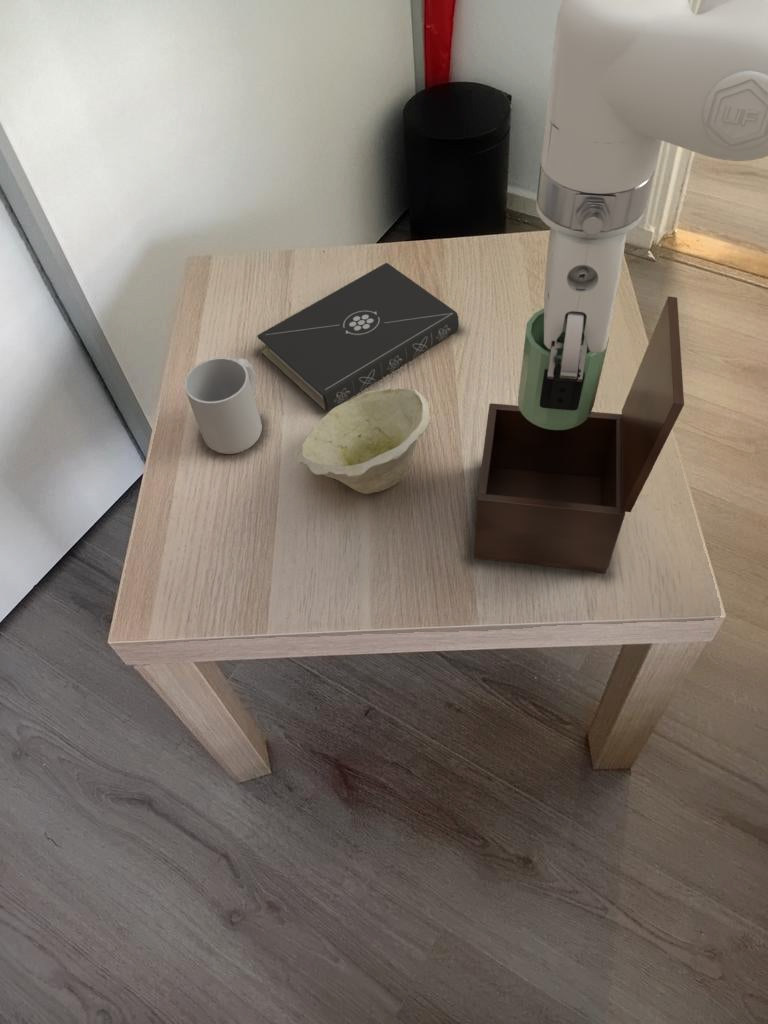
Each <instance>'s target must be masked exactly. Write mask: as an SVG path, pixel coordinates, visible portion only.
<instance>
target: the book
mask: <svg viewBox="0 0 768 1024" xmlns="http://www.w3.org/2000/svg"><path fill="white" fill-rule="evenodd" d="M459 326H460V321H459V315H458V312H457V311H456V310H454V309H453V308H451V307H450V306H448V305H447V304H446V303H444V302H443V301H441V300H440V299H439V298H437V297H436V296H434V295H433V294H431V293H430V292H429V291H427V290H426V289H425V288H423V287H422V286H420V285H419V284H418V283H416V282H415V281H414V280H412V279H410V278H409V277H408V276H407V275H406V274H404V273H402V272H401V271H399V270H398V269H397V268H395V267H394V266H392V265H391V264H390V263H388V262H385V263H383V264H381V265H380V266H378V267H376V268H374V269H372V270H371V271H368V272H367V273H366V274H364V275H362V276H360V277H358V278H357V279H355V280H353V281H351V282H349V283H347V284H346V285H344V286H342V287H340V288H339V289H337V290H335V291H333V292H331V293H329V294H327V295H326V296H325V297H323V298H321V299H319V300H318V301H316V302H314V303H312V304H310V305H308V306H307V307H305V308H303V309H301V310H300V311H297V312H296V313H294V314H293V315H290V316H289V317H287V318H285V319H284V320H282V321H280V322H278V323H276V324H275V325H272V327H270V328H269V327H268V328H267V329H266V330H264V331H262V332H261V333H258V334H257V335H256V336H257V338H258V340H260V342H262V343H263V344H264V345H265V346H266V348H264V349H262V350H261V351H260V353H261V354H262V355H263V356H264V357H265V358H266V359H267V360H268V361H269V362H271V364H273V365H274V366H275V367H276V368H277V369H278V370H279V371H280V372H281V373H282V374H284V375H285V376H286V377H287V378H288V379H289V380H290V381H291V382H292V383H293V384H294V385H295V386H297V387H298V388H299V389H300V390H301V391H302V392H303V393H304V394H305V395H307V397H308V398H310V399H311V400H312V401H313V402H314V403H315V404H316V405H317V406H318V407H320V408H321V409H322V410H323V411H324V412H326V413H329V411H331V410H332V409H333V408H335V407H336V406H338V405H340V404H342V403H345V402H347V401H349V400H351V399H352V398H354V396H355V397H356V395H358V394H359V393H361V392H363V391H364V390H366V389H368V388H369V387H371V386H373V385H374V384H375V383H377V382H378V381H380V380H382V379H384V378H385V377H387V376H389V374H391V373H393V372H395V371H396V370H398V369H399V368H401V367H402V366H404V365H406V364H407V363H409V362H410V361H412V360H414V359H415V358H417V357H418V356H420V355H422V354H424V353H425V352H427V351H428V350H430V349H431V348H433V347H435V346H436V345H437V344H439V343H441V342H442V341H444V340H446V339H447V338H450V336H452V335H454V334H455V333H457V332H458V330H459Z"/></svg>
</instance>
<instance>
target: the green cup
mask: <svg viewBox="0 0 768 1024" xmlns="http://www.w3.org/2000/svg"><path fill="white" fill-rule="evenodd" d="M564 335H565V332H562V333H561V335H560V336H559V337H558V338H561V339H564ZM581 340H583V334H582V339H581ZM609 341H610V335H609V336H608V342H607V348H606V349H605V350H604V351H603V352H602V353H591V352H590V350H589V348H587V353H586V359H585V366H584V372H585V378H584V382H583V387H582V392H581V397H580V402H579V406H578V409H577V410H574V411H572V410H561V409H549V408H542V407H540V397H541V390H542V383H543V377H544V370H545V369H548V365H549V358H550V350H551V349H548V348H547V347H546V346H545V344H544V307H543V308H542V309H540V310H538V311H536V312H534V313H533V314H532V316H531V317H530V318H529V319H528V320H527V322H526V326H525V335H524V343H523V344H524V345H523V353H522V360H521V369H520V378H519V385H518V386H519V387H518V396H517V404H518V405H517V406H519V409H520V411H521V413H522V414H523V416H524V417H525V418H526V419H527V420H528V421H530V422H531V423H533V424H534V425H537V426H539V427H542V428H545V429H550V430H566V429H570V428H574V427H576V426H578V425H580V424H582V423H583V422H584V421H585V420H586V419H587V418H588V417H589V416H590V414H591V412H593V409H594V406H595V402H596V398H597V394H598V389H599V388H598V387H599V386H600V385H599V384H600V380H601V377H602V371H603V367H604V363H605V358H606V355H607V354H606V353H607V351H608V345H609ZM562 352H563V350H559V349H558V351H557V359H556V364H561V360H562Z"/></svg>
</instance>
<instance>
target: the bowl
mask: <svg viewBox="0 0 768 1024" xmlns="http://www.w3.org/2000/svg"><path fill="white" fill-rule="evenodd" d="M431 421H432V418H431V410H430V403H429V401H428V400H427V399H426V398H425V397H424V396H423V395H422V394H421V393H420V392H419V391H417V390H416V389H414V388H409V387H402V388H400V387H397V388H395V389H394V388H386V389H381V390H380V389H379V390H368V391H365V392H363V393H361V394H359V395H357V396H355V397H352V398H350V399H348V400H346V401H345V402H343V403H342V404H340V405H338V406H336V407H335V408H333V409H332V410H330V411H329V412H327V413H326V414H325V415H324V416H323V417H322V418H321V419H320V420H319V422H318V423H317V424H315V425H314V426H313V427H312V429H311V431H310V433H309V434H308V435H307V437H306V438H305V439H304V440H303V444H302V446H301V450H300V452H299V454H298V458H297V462H299V463H300V464H305V465H306V466H308V469H309V470H310V471H311V472H312V474H313V475H316V476H317V475H321V476H325V477H327V478H331V479H335V480H337V481H338V482H341V483H342V484H344V485H346V486H347V487H349V488H350V489H352V490H353V491H355V492H358V493H361V494H365V495H371V494H374V493H380V492H383V491H385V490H386V489H390V488H392V487H393V486H395V485H396V484H398V483H399V482H400V481H401V480H402V479H403V477H404V476H405V475H406V474H407V472H408V470H409V469H410V466H411V463H412V457H413V455H414V451H415V447H416V445H417V443H418V441H419V438H421V436H422V435H424V434H425V432H426V431H427V430H428V428H429V426H430V425H431Z"/></svg>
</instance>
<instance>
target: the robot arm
mask: <svg viewBox="0 0 768 1024" xmlns="http://www.w3.org/2000/svg"><path fill="white" fill-rule="evenodd" d="M553 39H554V40H553V49H552V58H551V60H552V61H551V66H550V67H551V68H550V76H549V77H550V78H549V86H548V95H547V104H546V113H545V121H544V129H543V139H542V148H541V155H540V165H539V166H540V167H539V174H538V175H539V176H538V183H537V193H536V203H535V209H536V213H537V216H539V219H540V220H541V221H542V222H543V223H544V224H545V225H546V226H548V227H549V236H548V242H547V253H546V263H545V274H544V275H545V276H544V277H545V279H544V294H543V295H544V298H543V308H544V344H545V346H546V347H547V348H548V349H551V350H550V358H549V365H548V369H545V370H544V377H543V383H542V390H541V397H540V407H542V408H549V409H561V410H572V411H574V410H577V409H578V406H579V402H580V397H581V392H582V387H583V382H584V378H585V372H584V366H585V359H586V353H587V348H589V350H590V352H591V353H602V352H603V351H604V350H605V349H606V348H607V349H608V346H607V342H608V343H609V341H608V336H609V337H610V331H611V330H610V329H611V325H612V320H613V314H614V309H615V305H616V298H617V294H618V289H619V284H620V283H619V282H620V279H621V273H622V267H623V261H624V254H625V248H626V247H625V246H626V239H627V233H628V232H630V231H631V230H633V229H635V228H636V227H637V226H638V225H639V224H640V223H641V222H642V220H643V219H644V216H645V212H646V208H647V203H648V199H649V196H650V191H651V188H652V187H651V186H652V183H653V178H654V174H655V170H656V167H657V162H658V158H659V153H660V150H661V145H662V142H665V143H668V144H670V145H674V146H677V147H679V148H682V149H685V150H688V151H691V152H693V153H696V154H699V155H703V156H706V157H709V158H712V159H717V160H721V161H731V162H747V161H748V162H749V161H756V160H759V159H763V158H765V157H768V0H701V1H700V4H699V6H698V8H697V11H696V13H694V12H693V11H692V9H691V6H690V1H689V0H562V3H561V4H560V6H559V9H558V13H557V17H556V24H555V30H554V38H553ZM562 332H565V335H564V339H561V338H558V337H559V336H560V335H561V333H562ZM582 334H583V340H581V339H582ZM558 349H559V350H563V352H562V360H561V364H556V359H557V351H558Z"/></svg>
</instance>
